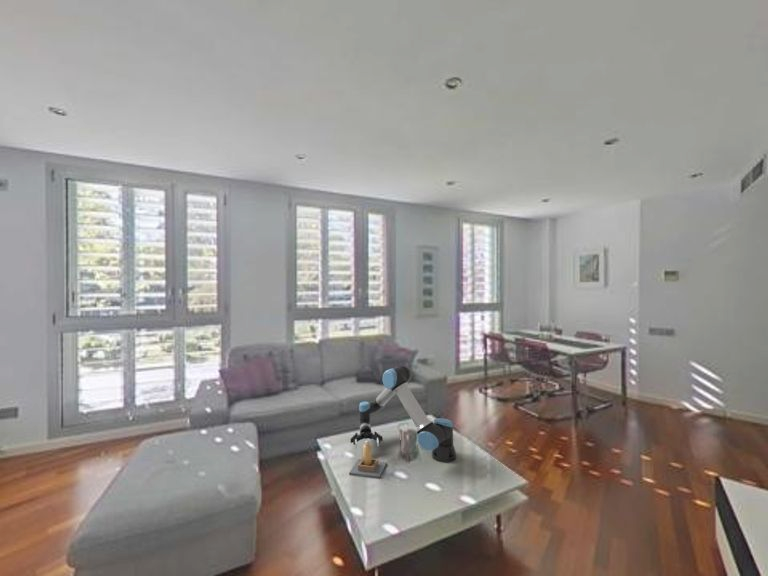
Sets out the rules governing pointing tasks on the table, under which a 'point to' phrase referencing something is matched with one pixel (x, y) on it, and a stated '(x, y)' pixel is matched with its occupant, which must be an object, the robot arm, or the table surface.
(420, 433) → the robot arm
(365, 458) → the yellow bottle
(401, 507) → the table surface
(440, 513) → the table surface
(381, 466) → the dock
